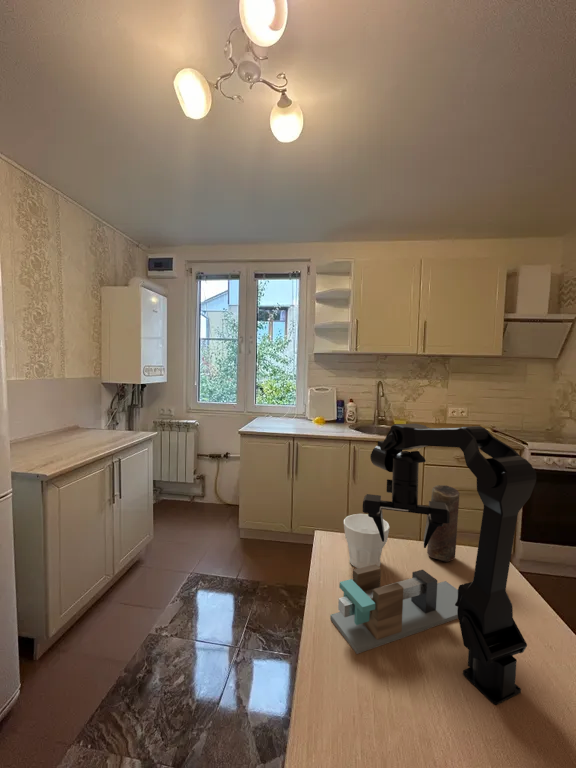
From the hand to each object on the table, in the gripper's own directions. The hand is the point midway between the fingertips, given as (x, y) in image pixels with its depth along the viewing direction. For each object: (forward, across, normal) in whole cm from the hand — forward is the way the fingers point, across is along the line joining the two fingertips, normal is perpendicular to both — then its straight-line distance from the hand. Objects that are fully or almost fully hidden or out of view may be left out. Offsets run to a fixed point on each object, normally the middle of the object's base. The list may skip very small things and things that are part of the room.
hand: (403, 544), depth 84 cm
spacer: (+10, +9, +14) cm, 19 cm away
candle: (+13, -11, -23) cm, 28 cm away
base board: (+13, -1, +5) cm, 14 cm away
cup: (+13, +10, -13) cm, 21 cm away
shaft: (+13, -4, +2) cm, 14 cm away
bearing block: (+13, +5, +11) cm, 18 cm away
